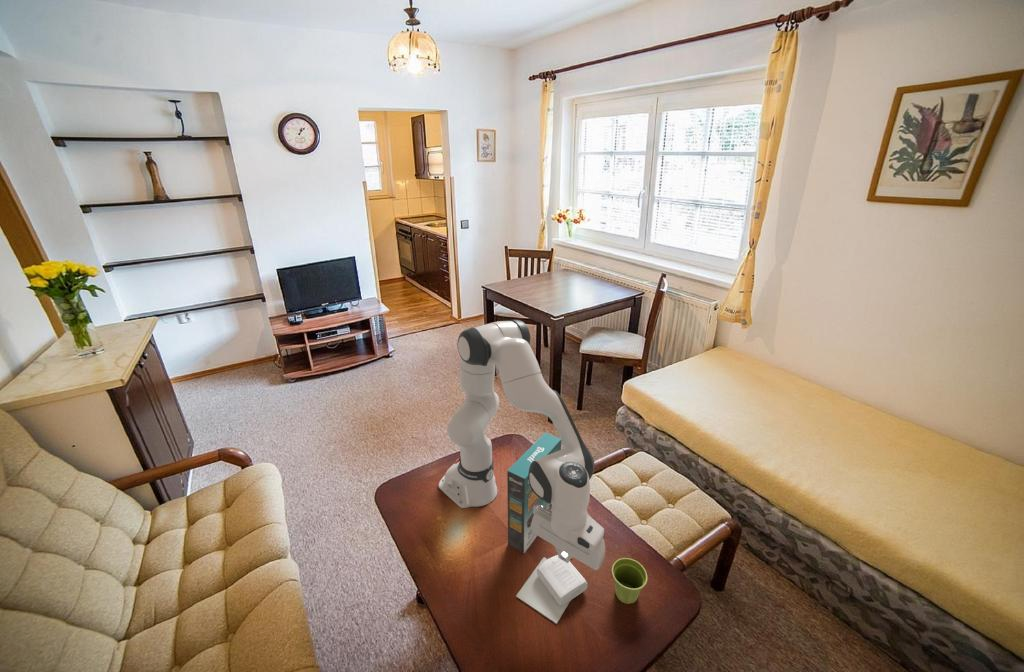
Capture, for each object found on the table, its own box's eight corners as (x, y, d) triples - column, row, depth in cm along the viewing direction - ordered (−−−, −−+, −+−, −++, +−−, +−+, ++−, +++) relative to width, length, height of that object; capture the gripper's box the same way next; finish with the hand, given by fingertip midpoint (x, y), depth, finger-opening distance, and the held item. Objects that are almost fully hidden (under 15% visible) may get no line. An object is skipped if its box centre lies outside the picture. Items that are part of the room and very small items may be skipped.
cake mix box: (542, 501, 149) (545, 432, 137) (557, 508, 146) (561, 438, 134) (507, 544, 133) (507, 470, 121) (523, 553, 130) (524, 478, 118)
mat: (516, 596, 117) (516, 595, 117) (543, 557, 128) (543, 556, 128) (556, 624, 110) (556, 623, 110) (582, 580, 121) (582, 579, 121)
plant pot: (637, 617, 112) (641, 595, 108) (604, 599, 116) (607, 578, 113) (647, 589, 119) (651, 568, 116) (615, 573, 124) (618, 552, 120)
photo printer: (588, 590, 118) (560, 557, 128) (588, 579, 116) (561, 547, 126) (559, 609, 113) (533, 574, 123) (559, 599, 111) (533, 564, 121)
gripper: (527, 509, 108) (525, 546, 114) (599, 550, 98) (593, 589, 103) (540, 494, 113) (537, 531, 119) (610, 532, 102) (604, 570, 108)
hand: (564, 558), depth 111 cm, fingers closed
